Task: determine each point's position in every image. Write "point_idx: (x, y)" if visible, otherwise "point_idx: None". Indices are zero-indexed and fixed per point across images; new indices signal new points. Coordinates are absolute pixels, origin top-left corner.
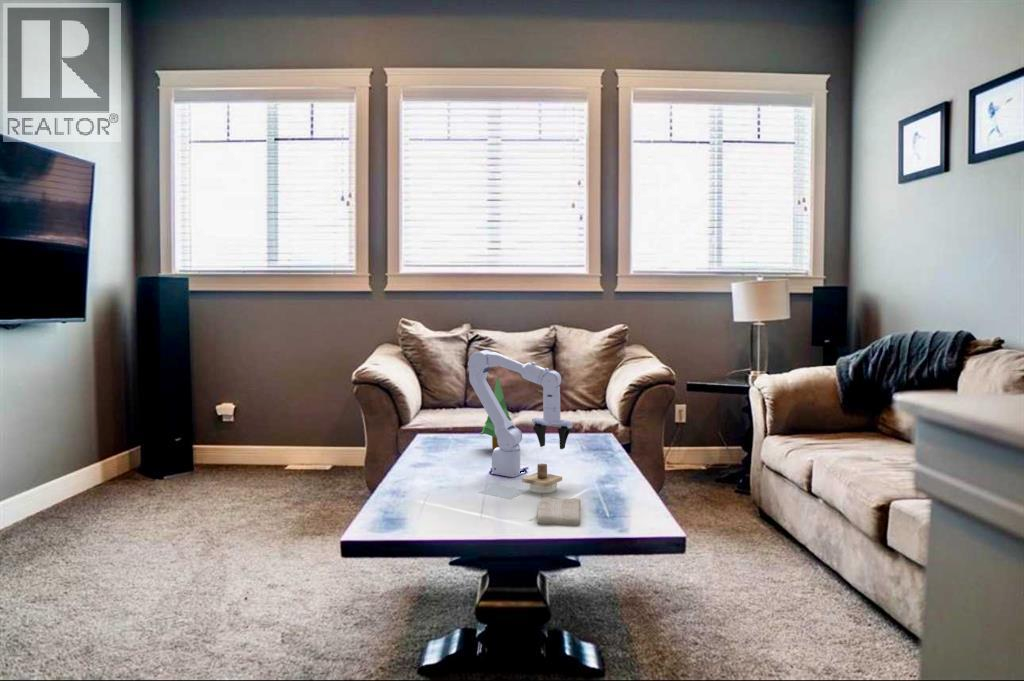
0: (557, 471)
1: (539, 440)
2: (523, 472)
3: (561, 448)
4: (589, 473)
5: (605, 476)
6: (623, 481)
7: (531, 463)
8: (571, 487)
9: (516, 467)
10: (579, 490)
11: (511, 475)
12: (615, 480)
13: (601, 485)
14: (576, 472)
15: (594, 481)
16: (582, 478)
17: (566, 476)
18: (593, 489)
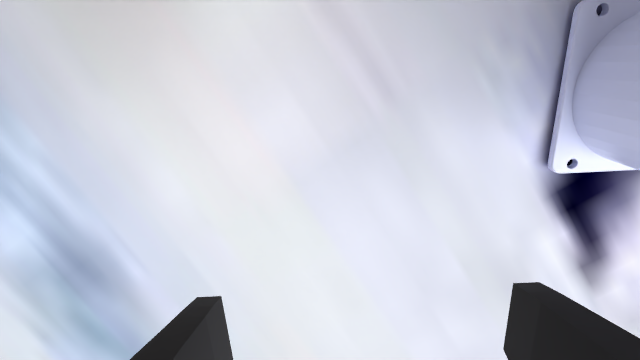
0: (391, 302)
1: (621, 338)
2: (559, 149)
3: (193, 303)
4: (232, 352)
5: None
6: (22, 327)
7: None
8: (132, 78)
9: (629, 68)
10: (53, 51)
11: (613, 28)
12: (60, 321)
13: (42, 214)
14: (295, 335)
15: (120, 255)
16: (203, 266)
17: (295, 251)
18: (14, 123)
